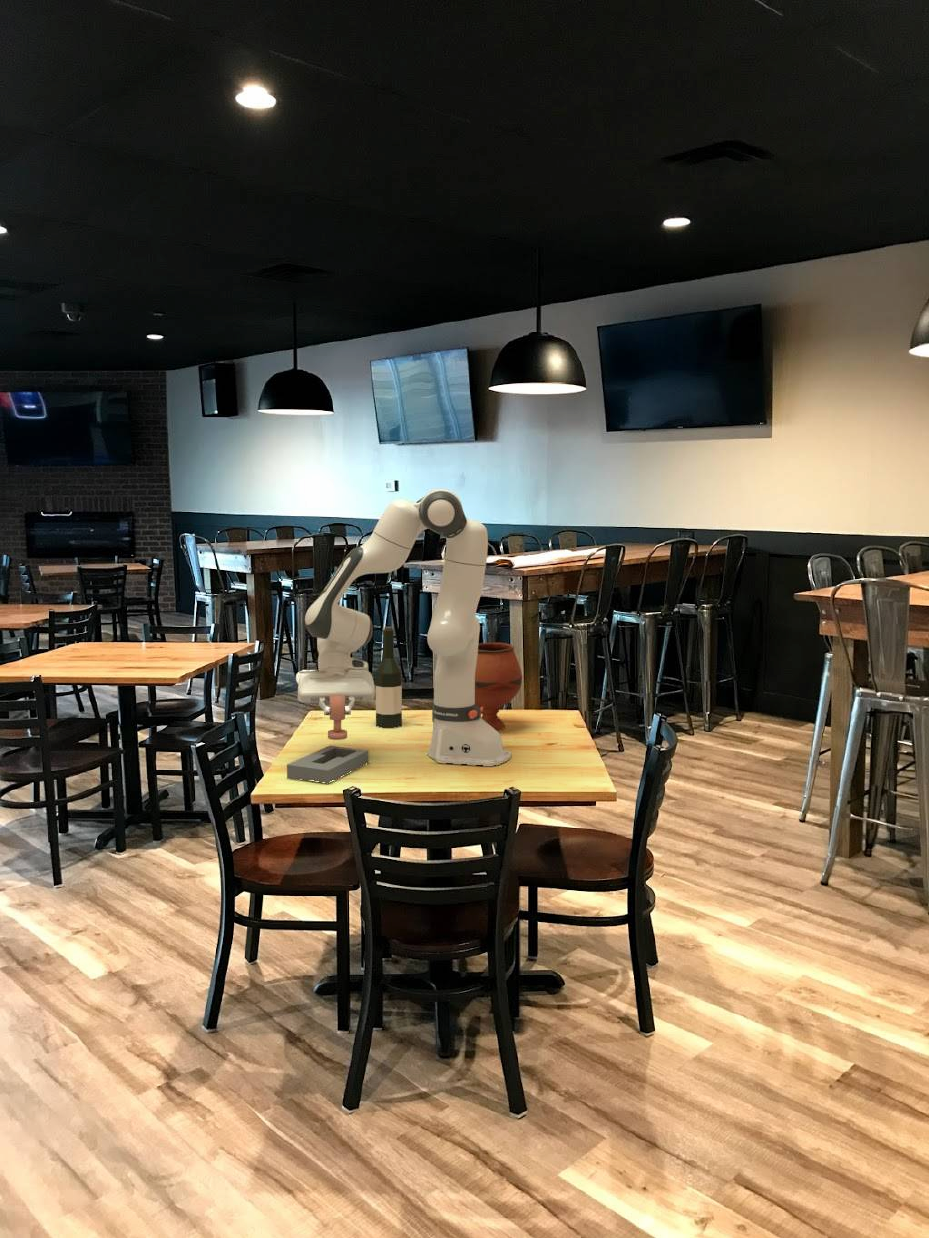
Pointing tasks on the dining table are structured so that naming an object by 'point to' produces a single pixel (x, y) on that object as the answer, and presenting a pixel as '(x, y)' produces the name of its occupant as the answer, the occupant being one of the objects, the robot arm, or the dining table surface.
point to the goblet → (496, 680)
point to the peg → (337, 717)
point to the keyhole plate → (327, 764)
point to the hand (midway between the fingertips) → (337, 713)
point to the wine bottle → (388, 685)
